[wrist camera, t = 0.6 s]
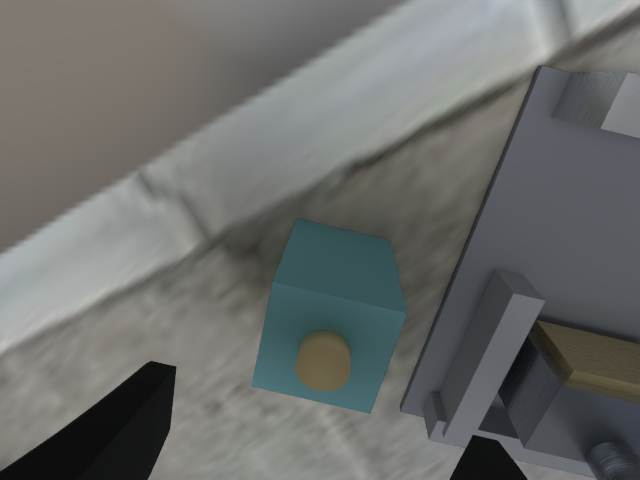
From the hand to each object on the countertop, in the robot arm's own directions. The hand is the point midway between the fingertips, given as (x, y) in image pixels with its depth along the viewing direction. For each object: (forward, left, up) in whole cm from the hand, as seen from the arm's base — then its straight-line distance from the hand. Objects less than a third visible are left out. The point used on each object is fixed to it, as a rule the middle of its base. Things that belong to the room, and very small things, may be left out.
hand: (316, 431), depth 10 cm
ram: (-11, +1, -8) cm, 14 cm away
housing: (0, 0, -8) cm, 8 cm away
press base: (-11, -1, -8) cm, 14 cm away
